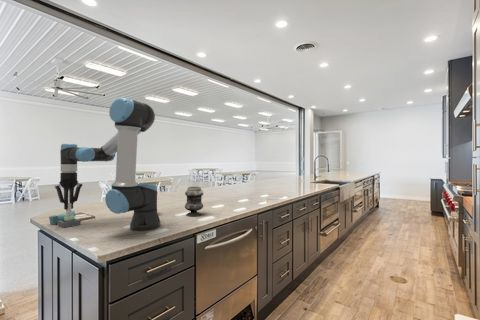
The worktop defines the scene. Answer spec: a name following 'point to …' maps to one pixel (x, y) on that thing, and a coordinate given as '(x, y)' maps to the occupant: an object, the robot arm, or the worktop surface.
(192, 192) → the apothecary jar
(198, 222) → the worktop surface
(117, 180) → the robot arm
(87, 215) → the clipboard
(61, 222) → the button housing
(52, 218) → the teal square-headed peg
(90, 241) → the worktop surface
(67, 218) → the button
